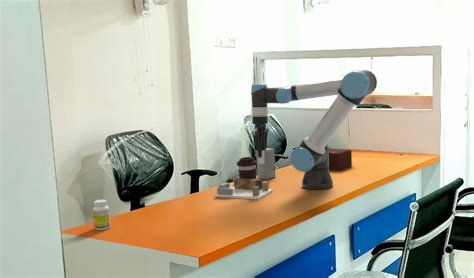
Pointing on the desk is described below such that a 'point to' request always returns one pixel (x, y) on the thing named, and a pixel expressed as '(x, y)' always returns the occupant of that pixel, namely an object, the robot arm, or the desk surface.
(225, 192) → the board
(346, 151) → the box
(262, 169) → the skincare box
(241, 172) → the coffee cup
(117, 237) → the desk surface
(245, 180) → the leg
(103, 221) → the pill bottle
